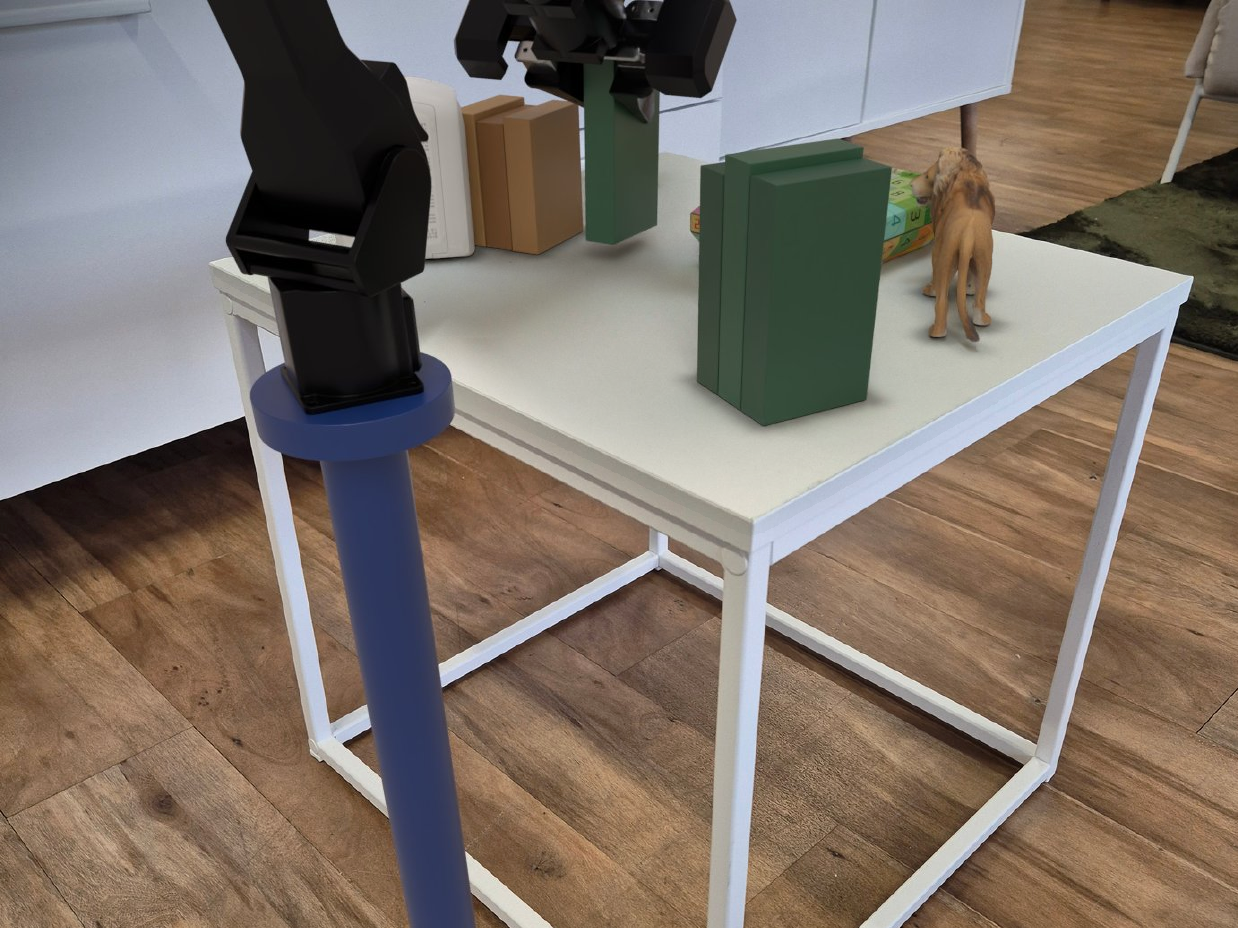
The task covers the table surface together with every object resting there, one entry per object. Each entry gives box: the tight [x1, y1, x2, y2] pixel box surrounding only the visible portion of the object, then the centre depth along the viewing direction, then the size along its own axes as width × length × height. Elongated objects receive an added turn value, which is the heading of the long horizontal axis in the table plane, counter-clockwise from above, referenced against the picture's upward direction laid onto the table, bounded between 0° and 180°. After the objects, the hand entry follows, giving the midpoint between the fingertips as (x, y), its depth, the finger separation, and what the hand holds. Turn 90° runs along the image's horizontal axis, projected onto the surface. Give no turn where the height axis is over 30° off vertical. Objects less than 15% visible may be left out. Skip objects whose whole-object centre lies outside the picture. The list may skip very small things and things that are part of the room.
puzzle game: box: [689, 167, 935, 264], centre depth 86 cm, size 12×5×20 cm
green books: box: [696, 138, 893, 427], centre depth 62 cm, size 7×7×13 cm
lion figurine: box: [909, 146, 996, 343], centre depth 74 cm, size 15×5×9 cm, turn 179°
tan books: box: [460, 94, 584, 256], centre depth 88 cm, size 7×7×10 cm
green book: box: [583, 60, 661, 246], centre depth 83 cm, size 7×2×13 cm, turn 153°
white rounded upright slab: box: [334, 75, 476, 260], centre depth 84 cm, size 10×4×12 cm, turn 103°
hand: (633, 116), depth 83 cm, fingers closed on green book, 2 cm apart
